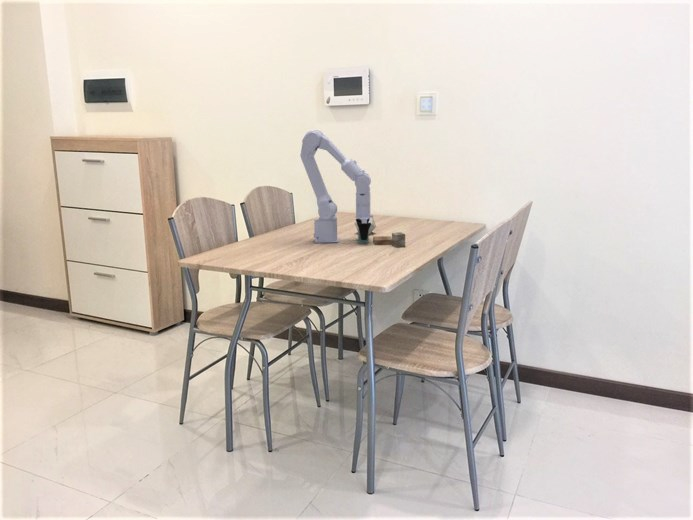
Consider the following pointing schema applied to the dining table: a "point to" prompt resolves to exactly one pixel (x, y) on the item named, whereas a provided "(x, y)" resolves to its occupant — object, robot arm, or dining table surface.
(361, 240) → the teal block
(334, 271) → the dining table surface
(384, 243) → the walnut slab
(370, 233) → the die
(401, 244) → the grey block
